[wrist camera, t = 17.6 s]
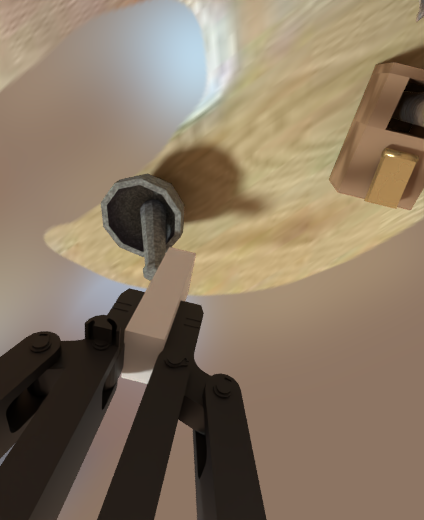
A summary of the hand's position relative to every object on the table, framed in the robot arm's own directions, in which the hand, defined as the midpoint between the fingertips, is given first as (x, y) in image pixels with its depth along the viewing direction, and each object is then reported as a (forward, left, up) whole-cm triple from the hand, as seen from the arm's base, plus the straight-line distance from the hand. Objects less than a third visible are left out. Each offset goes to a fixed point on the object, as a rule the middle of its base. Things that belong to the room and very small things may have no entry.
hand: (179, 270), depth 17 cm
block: (-7, +17, -24) cm, 31 cm away
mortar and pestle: (+7, -7, -25) cm, 27 cm away
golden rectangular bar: (-4, +17, -19) cm, 26 cm away
